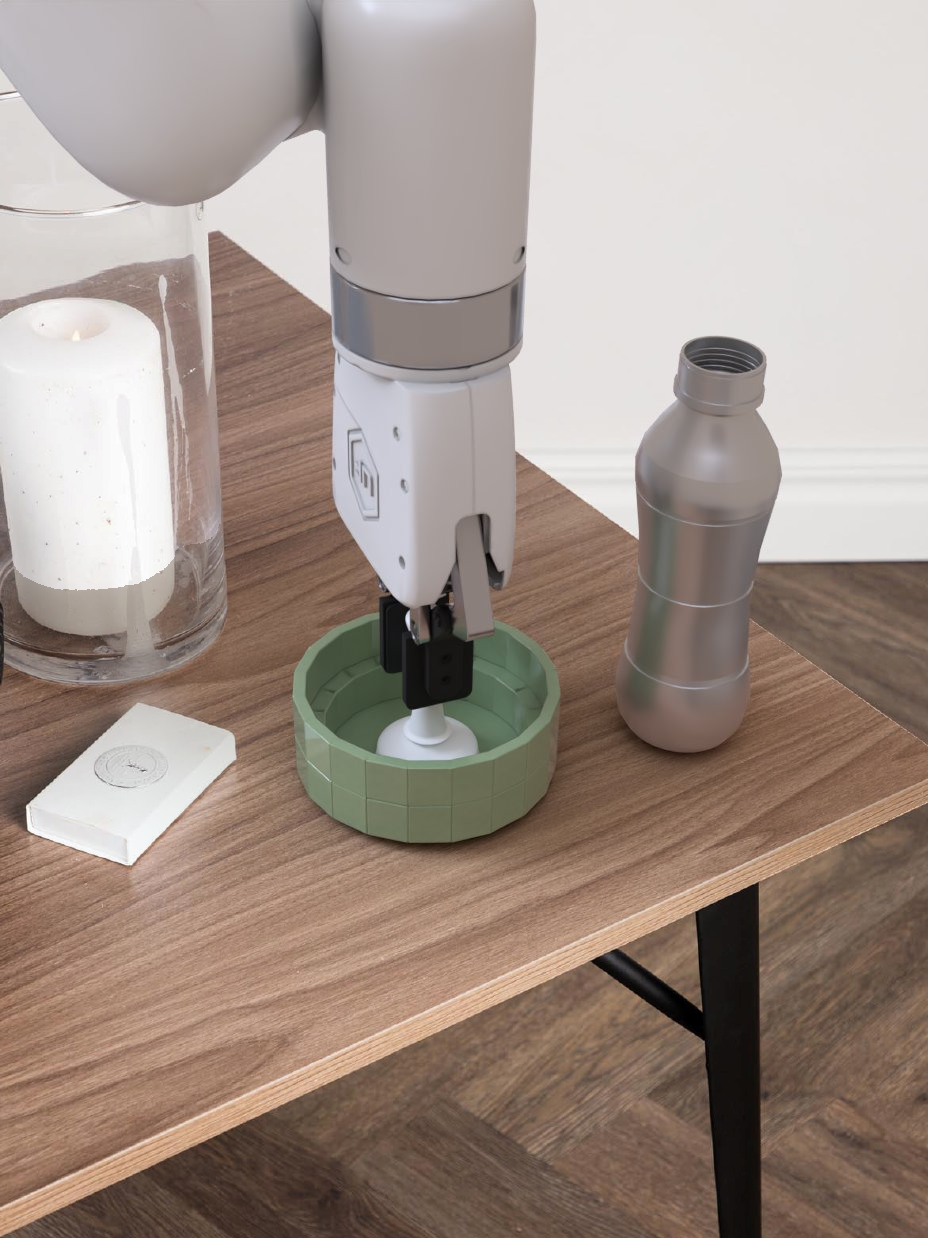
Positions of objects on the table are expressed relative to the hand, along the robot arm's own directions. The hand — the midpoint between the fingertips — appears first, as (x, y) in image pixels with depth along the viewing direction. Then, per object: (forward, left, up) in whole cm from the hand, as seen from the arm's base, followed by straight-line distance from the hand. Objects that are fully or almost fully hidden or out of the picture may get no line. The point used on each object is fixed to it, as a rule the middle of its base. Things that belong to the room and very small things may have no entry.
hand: (425, 679), depth 78 cm
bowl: (0, 0, -5) cm, 5 cm away
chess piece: (0, 0, -5) cm, 5 cm away
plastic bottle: (+11, +7, -5) cm, 14 cm away
